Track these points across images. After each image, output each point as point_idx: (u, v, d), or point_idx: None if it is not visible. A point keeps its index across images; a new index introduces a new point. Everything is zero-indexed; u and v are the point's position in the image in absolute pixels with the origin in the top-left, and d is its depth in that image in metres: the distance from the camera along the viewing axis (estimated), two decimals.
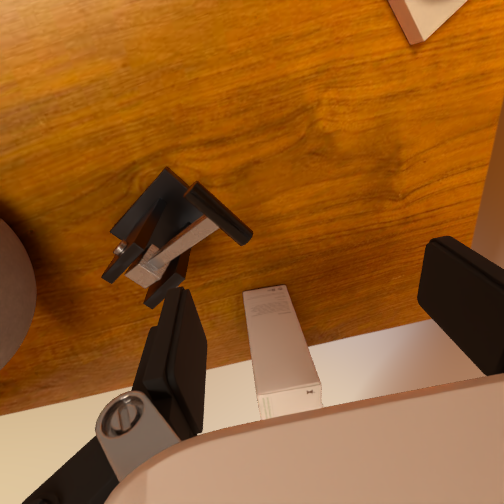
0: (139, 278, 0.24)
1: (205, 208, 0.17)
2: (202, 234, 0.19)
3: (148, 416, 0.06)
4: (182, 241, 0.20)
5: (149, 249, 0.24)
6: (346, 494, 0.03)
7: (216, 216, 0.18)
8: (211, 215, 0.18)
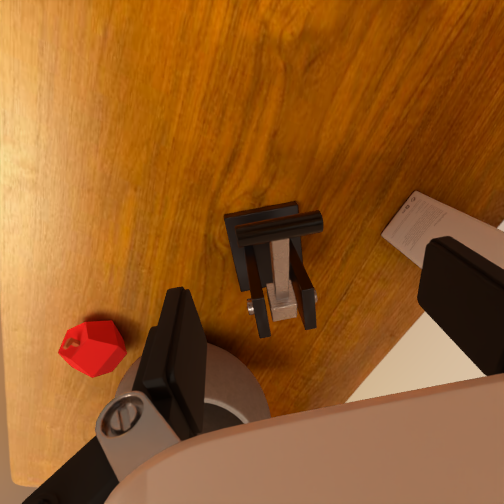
0: (284, 315, 0.24)
1: (261, 239, 0.16)
2: (284, 253, 0.18)
3: (149, 416, 0.06)
4: (278, 270, 0.19)
5: (268, 290, 0.24)
6: (346, 494, 0.03)
7: (276, 235, 0.16)
8: (271, 238, 0.16)
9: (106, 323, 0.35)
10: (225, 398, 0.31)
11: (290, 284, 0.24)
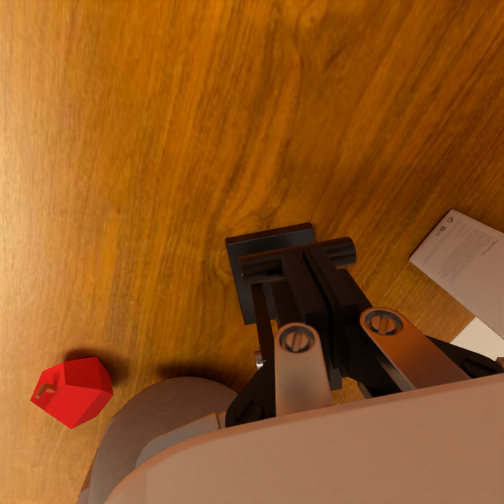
0: None
1: (273, 274, 0.12)
2: None
3: (314, 354, 0.07)
4: None
5: None
6: (346, 494, 0.03)
7: None
8: None
9: (89, 361, 0.31)
10: None
11: None
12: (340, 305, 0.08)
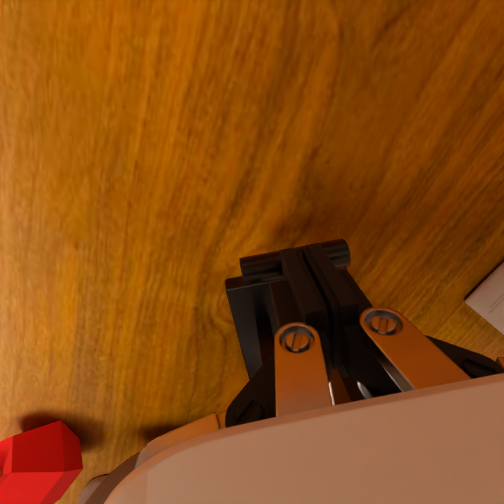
0: None
1: (270, 262, 0.13)
2: None
3: (314, 354, 0.07)
4: None
5: None
6: (346, 494, 0.03)
7: None
8: None
9: (50, 429, 0.24)
10: None
11: None
12: (340, 305, 0.08)
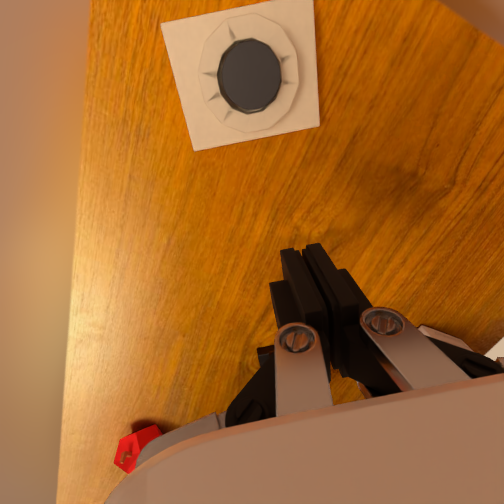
0: None
1: None
2: None
3: (314, 354, 0.07)
4: None
5: None
6: (346, 494, 0.03)
7: None
8: None
9: (151, 429, 0.41)
10: None
11: None
12: (340, 305, 0.08)
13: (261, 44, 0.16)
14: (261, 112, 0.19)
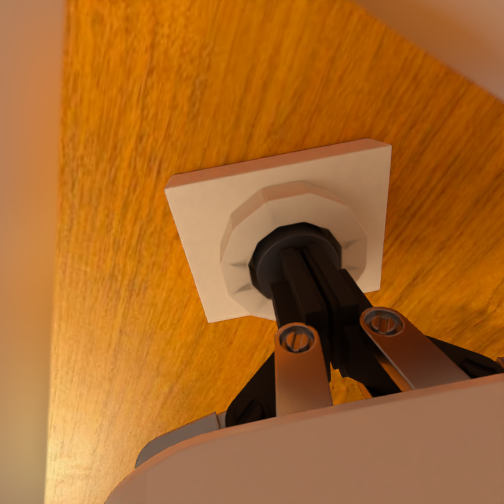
0: None
1: None
2: None
3: (314, 354, 0.07)
4: None
5: None
6: (346, 494, 0.03)
7: None
8: None
9: None
10: None
11: None
12: (340, 305, 0.08)
13: (316, 238, 0.11)
14: None
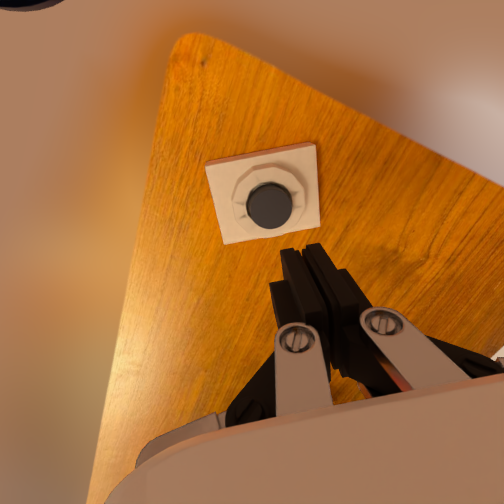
0: None
1: None
2: None
3: (314, 354, 0.07)
4: None
5: None
6: (346, 494, 0.03)
7: None
8: None
9: None
10: None
11: None
12: (340, 305, 0.08)
13: (279, 191, 0.23)
14: None
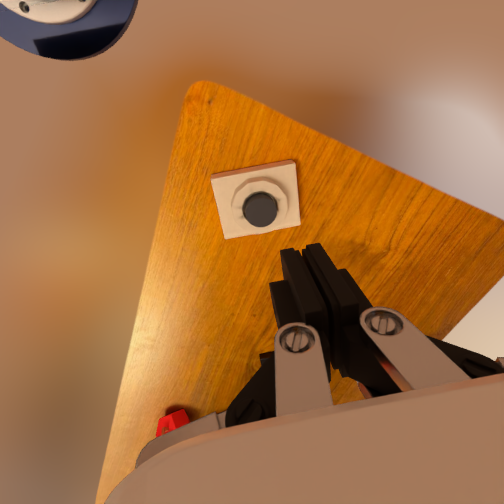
0: None
1: None
2: None
3: (314, 354, 0.07)
4: None
5: None
6: (346, 494, 0.03)
7: None
8: None
9: (181, 412, 0.55)
10: None
11: None
12: (340, 305, 0.08)
13: (267, 199, 0.31)
14: None
